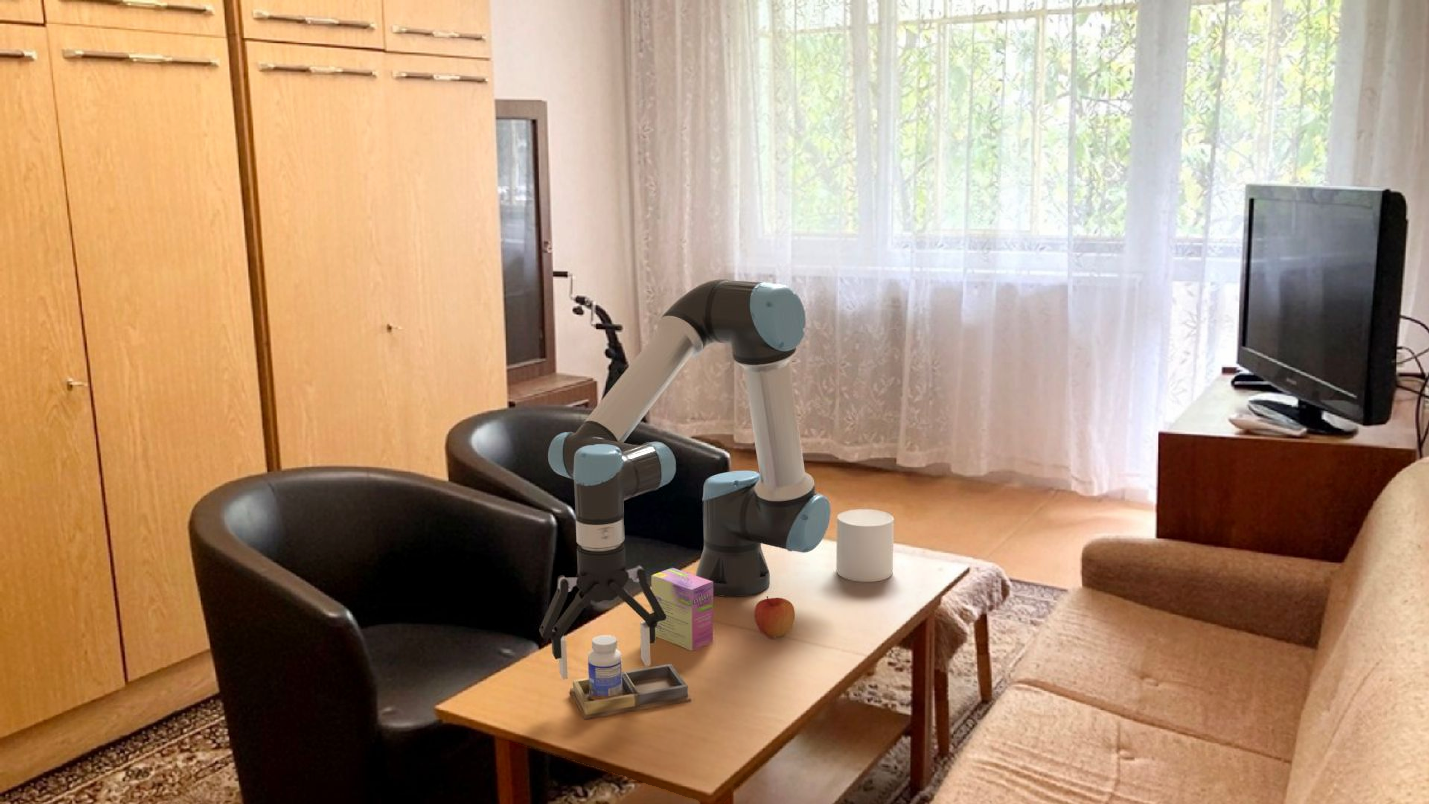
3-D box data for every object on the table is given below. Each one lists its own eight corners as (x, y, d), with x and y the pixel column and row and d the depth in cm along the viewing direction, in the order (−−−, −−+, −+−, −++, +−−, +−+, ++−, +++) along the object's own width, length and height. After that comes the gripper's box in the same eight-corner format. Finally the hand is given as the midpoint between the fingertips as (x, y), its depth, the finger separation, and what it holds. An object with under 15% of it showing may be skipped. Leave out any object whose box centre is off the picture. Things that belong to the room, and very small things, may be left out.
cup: (896, 582, 233) (897, 526, 231) (839, 582, 234) (839, 526, 231) (888, 561, 245) (889, 508, 242) (834, 562, 245) (834, 508, 243)
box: (714, 642, 206) (713, 580, 204) (692, 652, 202) (691, 589, 200) (673, 626, 213) (672, 566, 211) (651, 636, 209) (650, 575, 207)
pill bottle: (590, 689, 188) (587, 633, 186) (623, 687, 188) (621, 632, 186) (588, 704, 182) (586, 647, 181) (622, 702, 183) (620, 645, 181)
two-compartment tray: (584, 719, 179) (584, 706, 178) (570, 691, 188) (569, 678, 188) (691, 700, 184) (691, 688, 184) (671, 673, 194) (671, 661, 193)
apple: (802, 638, 207) (802, 597, 205) (769, 648, 203) (768, 606, 202) (780, 624, 213) (780, 584, 211) (747, 633, 210) (746, 592, 208)
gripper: (526, 561, 172) (532, 691, 176) (683, 541, 180) (686, 665, 184) (517, 546, 178) (523, 671, 183) (669, 526, 187) (671, 647, 191)
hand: (605, 669), depth 184 cm, fingers open, 13 cm apart
